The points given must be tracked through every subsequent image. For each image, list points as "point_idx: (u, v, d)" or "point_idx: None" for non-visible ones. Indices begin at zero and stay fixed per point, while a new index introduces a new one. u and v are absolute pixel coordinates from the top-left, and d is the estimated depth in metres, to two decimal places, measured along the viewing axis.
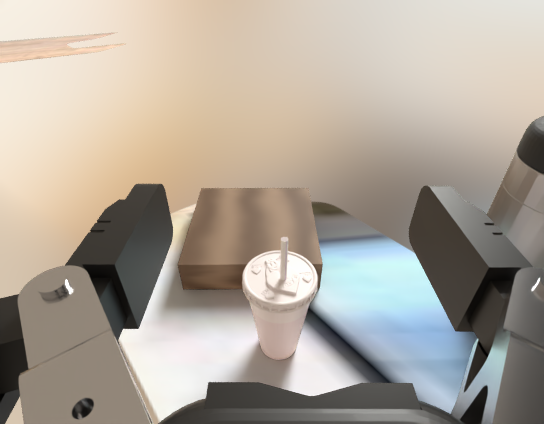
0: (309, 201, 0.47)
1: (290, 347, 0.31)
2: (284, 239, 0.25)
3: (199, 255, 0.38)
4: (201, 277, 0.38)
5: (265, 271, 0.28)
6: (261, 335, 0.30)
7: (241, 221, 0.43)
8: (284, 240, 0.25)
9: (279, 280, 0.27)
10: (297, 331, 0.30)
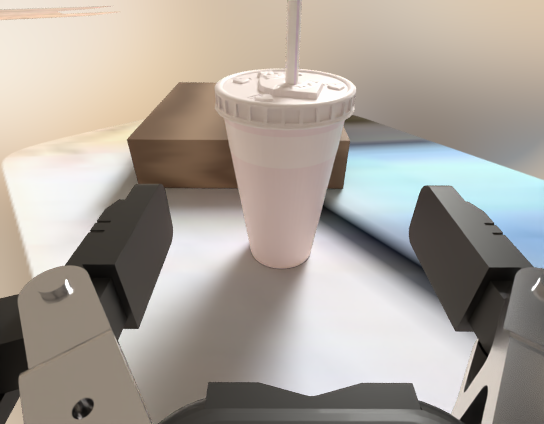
0: None
1: (301, 240, 0.18)
2: None
3: (162, 131, 0.25)
4: (164, 164, 0.25)
5: (258, 80, 0.15)
6: (250, 215, 0.17)
7: None
8: None
9: (284, 84, 0.14)
10: (314, 204, 0.17)
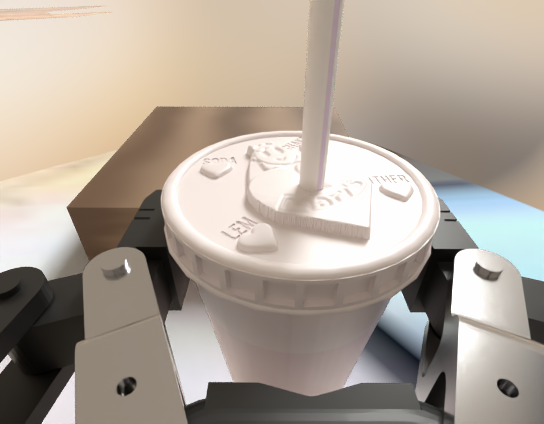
0: (339, 121, 0.27)
1: None
2: None
3: (119, 192, 0.18)
4: None
5: (248, 169, 0.08)
6: (237, 381, 0.10)
7: None
8: None
9: (297, 190, 0.07)
10: (348, 372, 0.09)
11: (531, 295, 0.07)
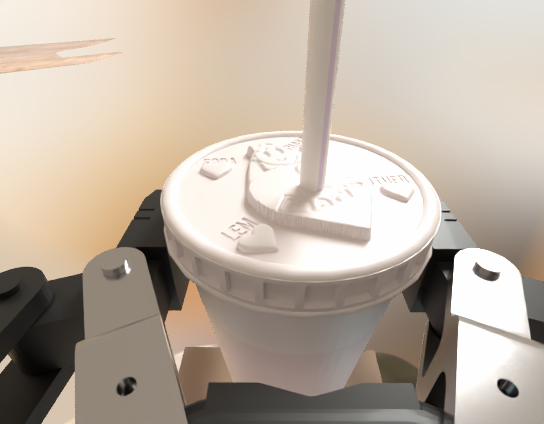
0: None
1: None
2: None
3: None
4: None
5: (248, 170, 0.08)
6: None
7: None
8: None
9: (297, 191, 0.07)
10: (348, 373, 0.09)
11: (531, 295, 0.07)
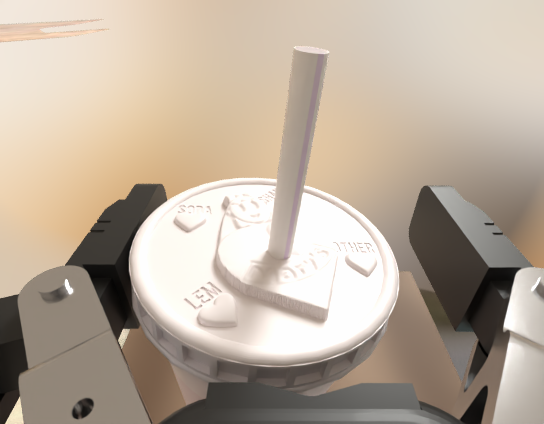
0: (428, 319, 0.18)
1: None
2: (311, 49, 0.05)
3: None
4: None
5: (221, 224, 0.08)
6: None
7: None
8: (311, 50, 0.05)
9: (264, 257, 0.07)
10: None
11: None
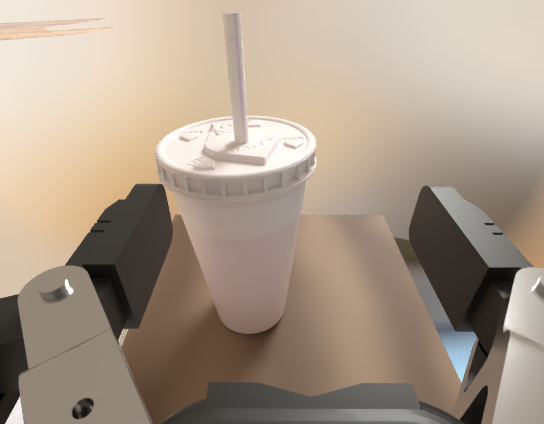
0: (394, 245, 0.23)
1: (267, 306, 0.16)
2: (230, 12, 0.10)
3: None
4: None
5: (208, 136, 0.14)
6: (209, 280, 0.15)
7: None
8: (230, 12, 0.10)
9: (232, 143, 0.12)
10: (278, 269, 0.15)
11: None
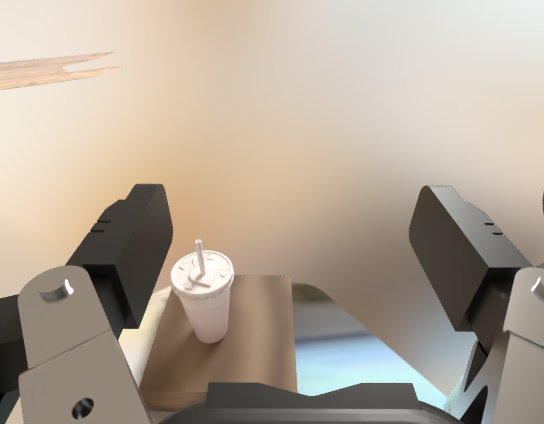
0: (290, 295, 0.44)
1: (215, 332, 0.37)
2: (197, 241, 0.31)
3: (163, 377, 0.35)
4: (164, 401, 0.35)
5: (191, 267, 0.34)
6: (190, 321, 0.36)
7: None
8: (197, 242, 0.31)
9: (199, 275, 0.33)
10: (219, 318, 0.35)
11: None
